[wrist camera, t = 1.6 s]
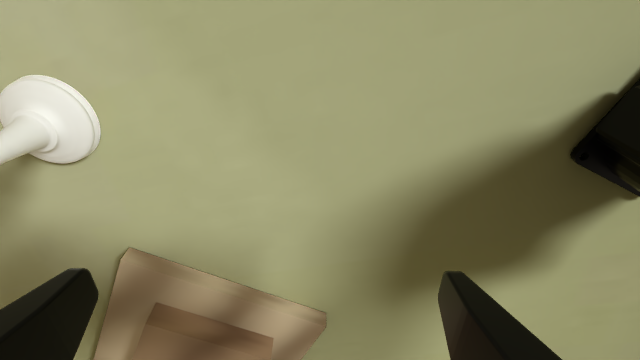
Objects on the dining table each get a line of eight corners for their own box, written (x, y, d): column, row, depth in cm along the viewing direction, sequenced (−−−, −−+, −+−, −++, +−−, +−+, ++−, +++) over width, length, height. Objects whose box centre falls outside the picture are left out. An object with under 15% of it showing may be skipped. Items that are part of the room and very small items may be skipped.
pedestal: (326, 313, 27) (326, 348, 25) (256, 406, 34) (251, 441, 32) (129, 247, 24) (106, 280, 22) (96, 364, 31) (75, 400, 28)
